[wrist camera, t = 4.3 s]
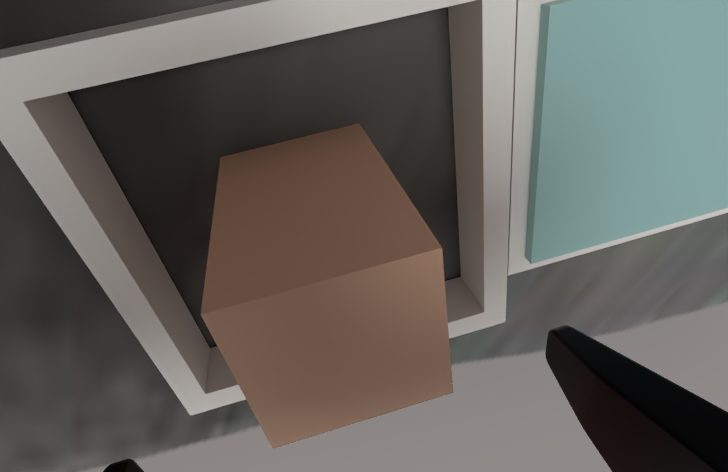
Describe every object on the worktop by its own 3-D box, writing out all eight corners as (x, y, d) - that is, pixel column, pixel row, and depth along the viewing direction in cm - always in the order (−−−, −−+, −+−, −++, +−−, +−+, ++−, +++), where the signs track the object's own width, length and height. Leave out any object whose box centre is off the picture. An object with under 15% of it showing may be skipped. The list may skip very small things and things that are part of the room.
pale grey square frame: (202, 379, 20) (198, 426, 18) (1, 49, 12) (-49, 69, 10) (480, 298, 22) (505, 334, 20) (476, -52, 13) (518, -53, 11)
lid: (482, 270, 21) (495, 287, 20) (479, -16, 14) (499, -13, 13) (721, 202, 22) (746, 214, 21) (828, -93, 15) (873, -96, 14)
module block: (265, 272, 18) (276, 454, 11) (220, 157, 15) (200, 314, 8) (380, 241, 18) (453, 398, 12) (359, 123, 15) (442, 247, 9)
